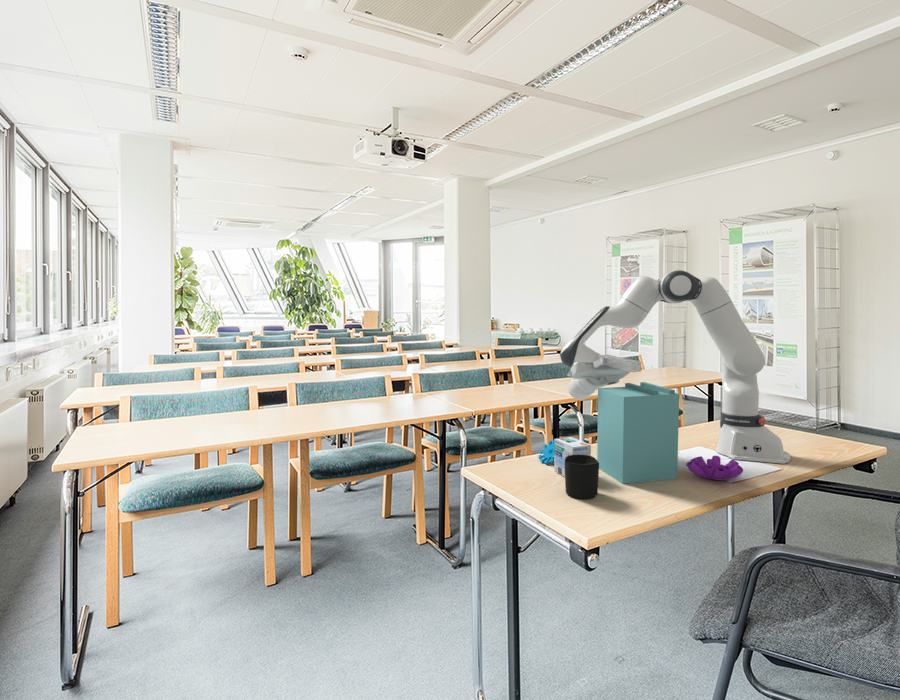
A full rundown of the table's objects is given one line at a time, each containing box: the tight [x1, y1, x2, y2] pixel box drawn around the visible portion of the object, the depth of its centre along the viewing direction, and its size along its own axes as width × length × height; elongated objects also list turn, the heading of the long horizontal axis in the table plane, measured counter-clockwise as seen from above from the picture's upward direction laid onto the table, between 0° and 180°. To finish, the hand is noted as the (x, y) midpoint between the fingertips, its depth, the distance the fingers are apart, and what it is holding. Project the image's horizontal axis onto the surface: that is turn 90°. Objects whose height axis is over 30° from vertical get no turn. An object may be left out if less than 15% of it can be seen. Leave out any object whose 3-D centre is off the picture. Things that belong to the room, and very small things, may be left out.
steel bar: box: [600, 354, 642, 373], centre depth 165 cm, size 20×3×3 cm, turn 11°
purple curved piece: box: [686, 455, 744, 481], centre depth 158 cm, size 11×15×10 cm
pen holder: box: [564, 455, 600, 500], centre depth 148 cm, size 9×9×10 cm
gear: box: [537, 438, 556, 465], centre depth 177 cm, size 11×6×10 cm
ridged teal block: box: [596, 381, 680, 485], centre depth 164 cm, size 16×18×27 cm
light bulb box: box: [553, 436, 592, 478], centre depth 164 cm, size 11×7×11 cm, turn 21°
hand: (610, 359), depth 170 cm, fingers closed on steel bar, 3 cm apart
